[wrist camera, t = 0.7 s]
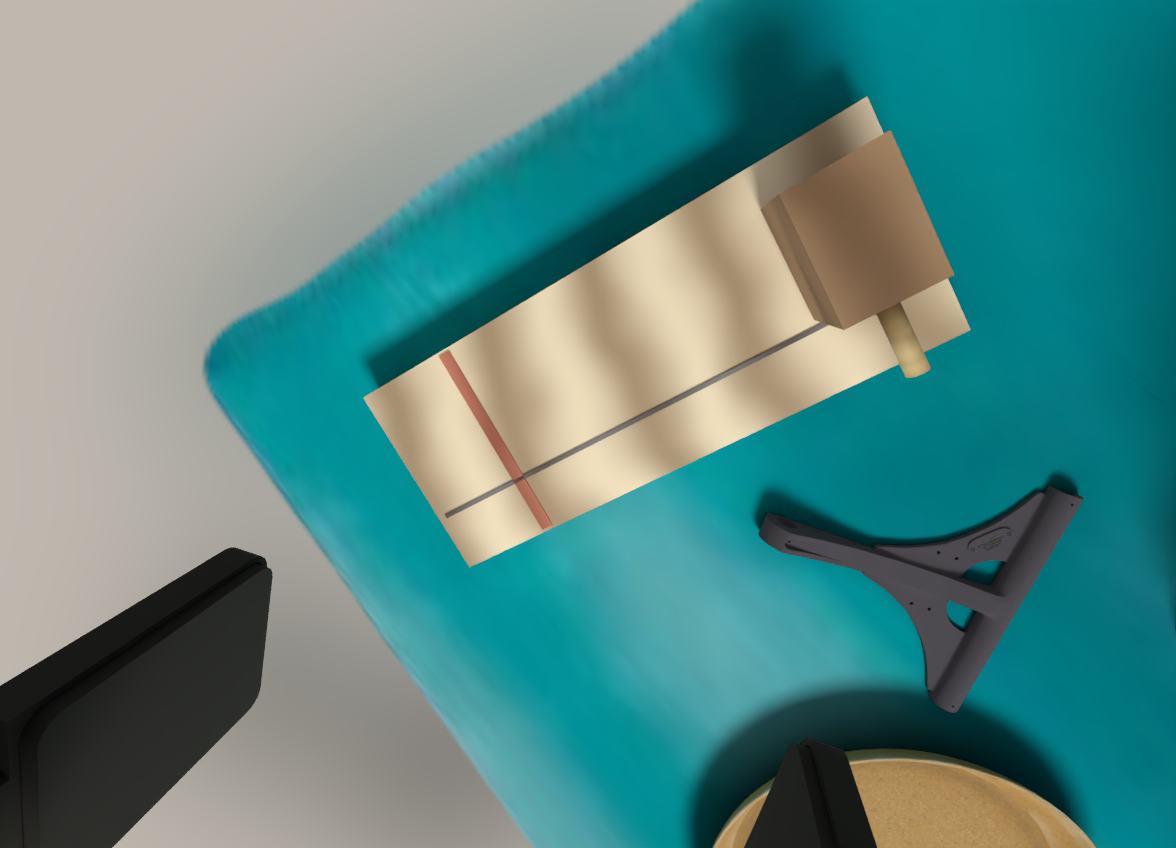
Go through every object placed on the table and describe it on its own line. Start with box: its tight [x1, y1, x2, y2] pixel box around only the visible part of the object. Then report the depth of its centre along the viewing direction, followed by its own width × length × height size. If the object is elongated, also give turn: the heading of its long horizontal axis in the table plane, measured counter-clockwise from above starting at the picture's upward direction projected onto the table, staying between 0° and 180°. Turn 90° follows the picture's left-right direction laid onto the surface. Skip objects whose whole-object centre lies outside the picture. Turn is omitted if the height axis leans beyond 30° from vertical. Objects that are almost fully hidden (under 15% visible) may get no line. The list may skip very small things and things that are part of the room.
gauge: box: [760, 130, 954, 378], centre depth 25 cm, size 4×9×6 cm, turn 30°
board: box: [363, 97, 971, 567], centre depth 32 cm, size 30×12×2 cm, turn 120°
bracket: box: [759, 485, 1084, 713], centre depth 33 cm, size 14×15×3 cm
